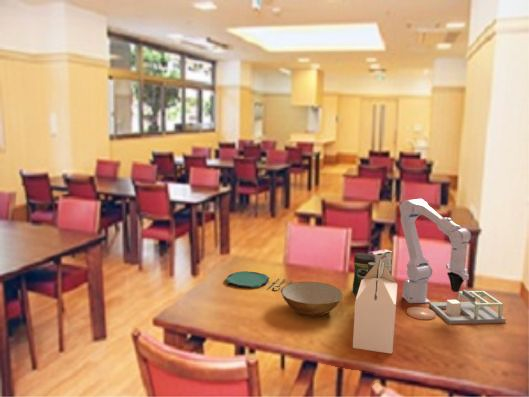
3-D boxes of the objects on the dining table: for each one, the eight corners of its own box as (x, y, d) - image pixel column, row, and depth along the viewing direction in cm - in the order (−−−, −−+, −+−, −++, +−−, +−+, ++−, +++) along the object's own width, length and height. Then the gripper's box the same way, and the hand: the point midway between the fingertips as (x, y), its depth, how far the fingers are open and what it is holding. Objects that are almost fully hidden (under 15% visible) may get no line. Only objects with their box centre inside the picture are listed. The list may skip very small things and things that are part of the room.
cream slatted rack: (475, 317, 191) (476, 299, 190) (457, 303, 205) (458, 287, 203) (501, 316, 192) (503, 299, 191) (482, 302, 206) (483, 286, 205)
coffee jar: (375, 292, 219) (377, 252, 216) (372, 298, 212) (375, 257, 209) (353, 289, 223) (355, 250, 220) (350, 295, 216) (352, 254, 212)
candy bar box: (383, 281, 234) (385, 248, 232) (390, 284, 230) (393, 251, 227) (365, 285, 229) (367, 251, 226) (372, 288, 225) (375, 254, 222)
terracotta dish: (413, 320, 191) (413, 318, 191) (402, 308, 202) (402, 307, 202) (440, 319, 192) (440, 317, 192) (428, 308, 203) (428, 306, 203)
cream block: (450, 316, 195) (451, 303, 194) (445, 312, 199) (446, 299, 198) (459, 316, 196) (461, 303, 195) (455, 312, 200) (456, 299, 199)
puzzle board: (449, 324, 188) (449, 320, 188) (428, 305, 206) (429, 302, 205) (505, 322, 190) (505, 319, 190) (480, 304, 208) (480, 301, 208)
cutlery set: (237, 272, 243) (237, 268, 242) (294, 282, 232) (294, 277, 232) (219, 285, 225) (219, 281, 224) (280, 296, 214) (280, 292, 214)
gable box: (392, 354, 163) (398, 274, 158) (352, 348, 167) (357, 270, 162) (394, 327, 184) (399, 256, 179) (358, 322, 188) (363, 252, 183)
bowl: (349, 305, 204) (350, 287, 203) (331, 329, 181) (332, 308, 180) (293, 295, 214) (294, 277, 213) (270, 316, 192) (270, 296, 190)
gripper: (477, 263, 187) (474, 297, 189) (458, 253, 201) (455, 284, 203) (460, 264, 186) (456, 297, 188) (442, 253, 200) (439, 284, 202)
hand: (455, 291), depth 196 cm, fingers closed
